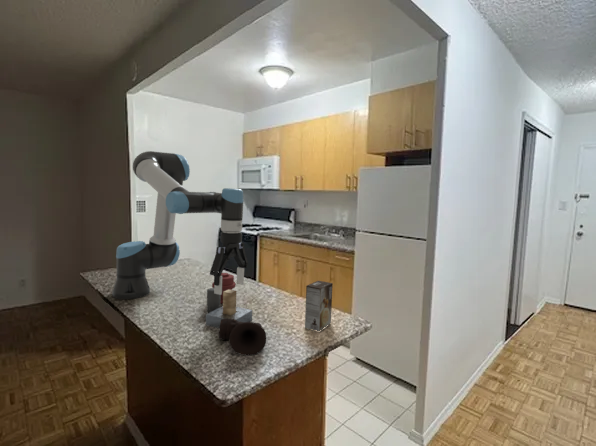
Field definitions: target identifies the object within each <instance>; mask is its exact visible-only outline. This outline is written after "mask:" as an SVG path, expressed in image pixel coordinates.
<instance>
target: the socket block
mask: <svg viewBox="0 0 596 446" xmlns="http://www.w3.org/2000/svg"><path fill="white" fill-rule="evenodd" d="M227 318H228V319H230V318H231V319H234V320H237V321H238V322H253V309H249V308H244V307H239V306H236V313H235V314H233V315H227V314H223V305H222V306H220V308H218V309H216V310H214V311H212V312H210V313H206V314H205V326H207V327H208V326H209V327H211V328H216V329H219V327H220V322H221V320H222V319H227Z"/></svg>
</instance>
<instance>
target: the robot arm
mask: <svg viewBox="0 0 596 446" xmlns="http://www.w3.org/2000/svg"><path fill="white" fill-rule="evenodd" d="M190 170H191V169H190V165H189V162H188V160H187V157H185V156H184V155H182V154H178V153H173V152H161V151H160V152H159V151H150V150H146V151H143V152H141V153H139V154H138V155H137V156H135V158H134V160H133V161H132V171H133V173H134V176H136V177H137V178H138V179H139V180H140V181H142V182H146V183H147V184H149V185H150V187H152V188H153V189H154V190H155V191H156V192H157V198H156V206H155V207H156V208H155V215H154V216H155V217H154V226H153V227H154V228H153V235H152V236H150V238H149V241H148V242H149V243H146V242H145V241H143V240H142V241H141V240H136V241H135V240H134V241H129V242H124V243H122V244H120V245H118V246H117V247H116V255H115V258H116V261H115V262H116V280H115V283H114V285H113V289H112V292H111V293H112V295H111V296H112V297H113V298H115V299H118V300H131V299H140V298H143V297H146V296H148V295H149V294H150V292H151V290H150V289H151V288H150V285H149V282H148V278H147V276H146V270H151V269H158V268H167V267H171V266H174V265H175V264H176V263H177V262H178V260H179V258H180V254H181V253H180V251H181V250H180V245H179V243H177V240H176V239H175V238H174V232H175V231H174V230H175V223H176V215H177V214H178V215H182V214H209V213H210V214H212V213H214V214H216V213H217V214H221V215H220V216H221V218H220V231H221V232H220V242H221V244H222V247H221V246H217V247H216V250H215V255H214V258H213V262H212V265H211V268H210V271H209V275H210V276H213V282H214V294H219V295H221V294H222V276H221V274H222V273H224V270H225V267H226V265H227V263H228V261H229V260H230V259H231V258H233V259H234V260H235V262H236V264H237V266H238V267H237V266H236V267H237V268H236V285H240V286H244V283H245V282H244V281H245V280H244V279H245V269H247V268H248V265H249V260H248V257H247V253H246V249H245V243H244V242H243V233H242V231H243V214H244V191H243V190H242V189H241V188H223V189H222V190H221V192H216V191H206V192H203V191H202V192H201V191H189V190H188V189H187V188H185V187H184V186H183V184H184V182H185V181H187V180H188V179H189V177H190V175H191V174H190V172H191V171H190Z"/></svg>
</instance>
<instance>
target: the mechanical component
mask: <svg viewBox="0 0 596 446" xmlns="http://www.w3.org/2000/svg"><path fill="white" fill-rule="evenodd" d="M221 276H222V294H221V298H220V305H221V304H222V305H223V292H224V291H226V290H234V289H235V288H236V286H237V282H235V276H234V275H233V274H230V273H228V272H222V274H221ZM211 288H214V281H213V282H212V283H211Z"/></svg>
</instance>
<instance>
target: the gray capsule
mask: <svg viewBox="0 0 596 446" xmlns="http://www.w3.org/2000/svg"><path fill="white" fill-rule="evenodd" d="M206 290H207V291H206V314H208V313H210V312H212V311H214V310H216V309H218V308H220V307H221V304H220V298H221V295H219V294H214V288H213V287H211V288H207V289H206Z"/></svg>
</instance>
